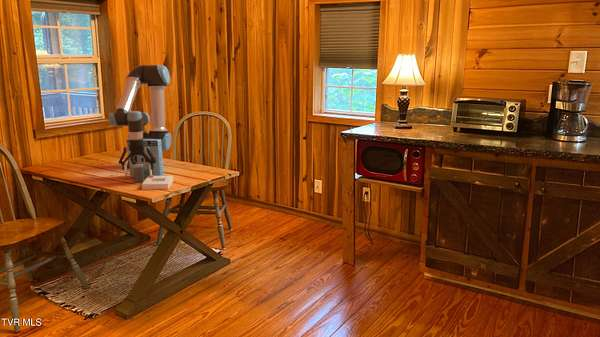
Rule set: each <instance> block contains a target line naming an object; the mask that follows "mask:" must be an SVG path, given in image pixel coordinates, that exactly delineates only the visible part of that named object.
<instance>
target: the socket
mask: <svg viewBox="0 0 600 337" xmlns="http://www.w3.org/2000/svg"><path fill="white" fill-rule="evenodd" d="M173 182H174V175H164V176H154V175H151V176H148V177H147V178H144V182H143V183H141V190H145V191H146V190H148V191H149V190H169V189H170V187H171V185H172V184H173Z"/></svg>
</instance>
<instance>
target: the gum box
mask: <svg viewBox="0 0 600 337" xmlns="http://www.w3.org/2000/svg"><path fill="white" fill-rule="evenodd" d="M129 140H130V139H128V138H127V139H126V145H127V146H126V147H127V148H129V147H130V146H129ZM143 146H144V148H145V147H149V148H150V151H151V153H152V155H153V156H154V158H155V160H156V163H153V170H152V175H154V176H165V174H164V162H163V161H164V160H163V151H162V146H161V139H143ZM143 152H144V153H145V154H146V155H147V156H148V157H149V158H150V159H151V157H150V156H149V154H148V152H147V151H146V150H144V151H143ZM130 153H131V152H130V151H129V150H128V151H127V156H128V155H129V154H130ZM151 160H152V159H151ZM134 164H143V171H144V179H146V178H147V177H148V176H150V172H149V164H150V163H149V162H148V161H147V160H146V159H145V158H144V157H143V156H142V155H133V154H132V155H131V157H130V158H129V168H128V169H129V177H130V178H134V170H133V165H134Z"/></svg>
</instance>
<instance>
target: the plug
mask: <svg viewBox="0 0 600 337" xmlns="http://www.w3.org/2000/svg"><path fill="white" fill-rule="evenodd" d="M133 170H134V177H133V180H134V184H136V183H137V184H142V183H143V182H144V181H145V178H144V171H143V164H134V165H133Z"/></svg>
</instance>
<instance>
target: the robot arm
mask: <svg viewBox="0 0 600 337" xmlns="http://www.w3.org/2000/svg"><path fill="white" fill-rule="evenodd" d="M124 82H125V86H124V88H123V91H122V93H121V96H120V99H119V101H118V104H117V107H116V109H115V111H114V112H110V113H109V114H108V123H109V125H111V126H116V127H123V126H125V127H126V126H127V130H128V134H127V139H130V140H129V146H130V147H129V148H128V147H127V146H125V147H124V148H123V152H122V154H121V156H120V158H119V160H118V164H120V165H121V166H122V167H121V168H122V171H124V177H126V176H128V169H129V158H130V157H131V155H132V154H133V155H142V156H143V157H144V158H145V159H146V160H147V161H148V162H149V163H150V164H149V172H150V176H151V175H152V170H153V163H156V160H155V158H154V156H153V155H152V153H151V151H150V148H149V147H145V148H144V146H143V139H161V146H162V152H167V151H169V149H170V148H171V144H172V134H171V133H170V132H169V130H168V129H167V128H166V103H165V102H166V101H165V99H166V97H165V96H166V95H165V91H166V89H167V87H168V85H170V82H171V76H170V72H169V70H168V68H167V66H165V65H161V64H155V65H153V64H150V65H149V64H142V65H141V64H139V65H138V66H135V67H134V68H133V69H132V70H131V71H130V72H129V73H128V74H127V76H126V79H125V80H124ZM142 85H147V88H149V91H150V92H149V93H150V94H149V95H150V115H149V114H148V113H147V112H141V111H140V110H132V111H131V109H132V107H133V104H134V101H135V98H136V95H137V93H138V90H139V88H141V87H142ZM150 121H151V124H150V125H151V127H150V129H149V130H148V132H147V130H143V127H144V126H147V125H148V124H149V123H150ZM128 150H129V151H130V152H131V153H130V154H129V155H128V154H127V153H128ZM144 150H146V151H147V152H148V154H149V156H150V157H151V159H152V160H151V159H150V158H149V157H148V156H147V155H146V154H145V153H144V152H143V151H144ZM126 154H127V156H126ZM125 156H126V158H125ZM124 158H125V159H124Z"/></svg>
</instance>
